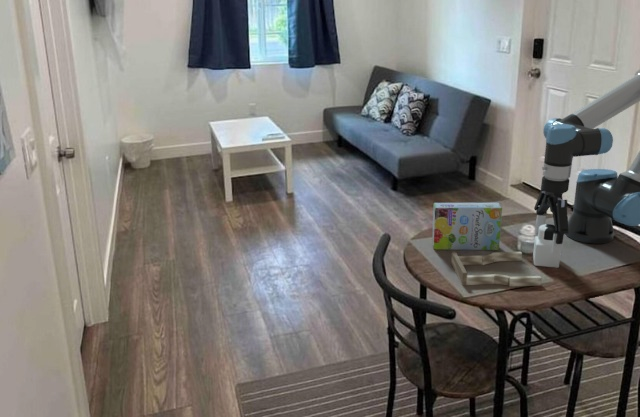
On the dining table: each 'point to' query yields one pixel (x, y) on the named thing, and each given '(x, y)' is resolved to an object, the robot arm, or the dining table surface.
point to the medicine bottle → (545, 248)
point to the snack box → (466, 226)
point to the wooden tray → (495, 278)
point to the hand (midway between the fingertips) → (547, 243)
